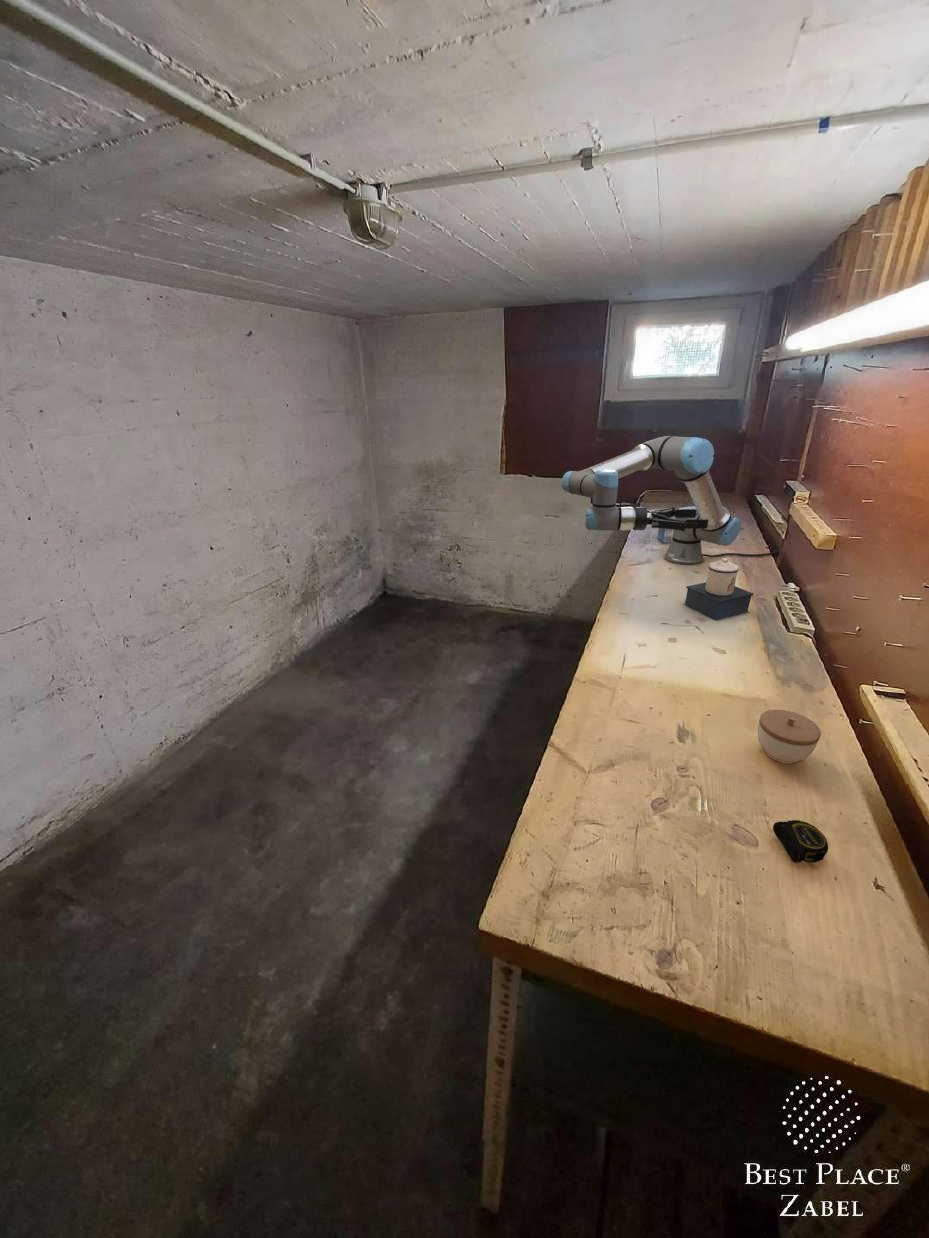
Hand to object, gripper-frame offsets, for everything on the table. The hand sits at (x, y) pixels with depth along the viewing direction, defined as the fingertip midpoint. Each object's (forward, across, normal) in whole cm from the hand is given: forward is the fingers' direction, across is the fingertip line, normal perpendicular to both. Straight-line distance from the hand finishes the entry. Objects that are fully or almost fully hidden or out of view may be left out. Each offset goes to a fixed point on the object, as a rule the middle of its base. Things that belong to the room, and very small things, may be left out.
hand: (701, 518), depth 156 cm
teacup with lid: (+10, 0, -25) cm, 27 cm away
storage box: (+10, 0, -32) cm, 33 cm away
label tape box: (+9, -81, -32) cm, 88 cm away
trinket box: (+1, +75, -32) cm, 82 cm away
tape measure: (-6, +100, -32) cm, 106 cm away
